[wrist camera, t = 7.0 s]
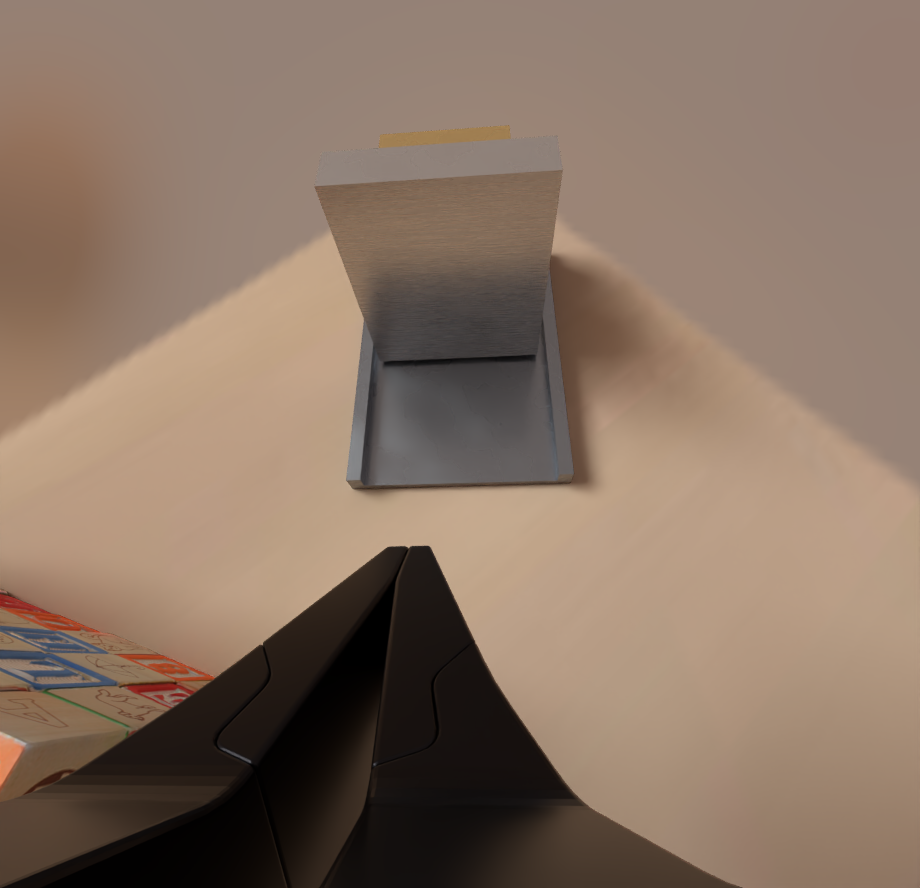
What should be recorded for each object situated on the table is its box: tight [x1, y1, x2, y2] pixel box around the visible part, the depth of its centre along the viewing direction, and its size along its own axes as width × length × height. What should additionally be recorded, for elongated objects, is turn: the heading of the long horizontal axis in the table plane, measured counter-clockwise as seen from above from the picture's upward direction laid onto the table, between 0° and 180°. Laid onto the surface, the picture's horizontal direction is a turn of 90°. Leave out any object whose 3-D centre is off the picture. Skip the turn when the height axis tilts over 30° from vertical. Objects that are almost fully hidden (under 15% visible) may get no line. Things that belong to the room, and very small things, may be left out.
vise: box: [346, 269, 574, 489], centre depth 25 cm, size 16×11×5 cm
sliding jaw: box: [315, 136, 563, 361], centre depth 22 cm, size 2×9×11 cm, turn 90°
